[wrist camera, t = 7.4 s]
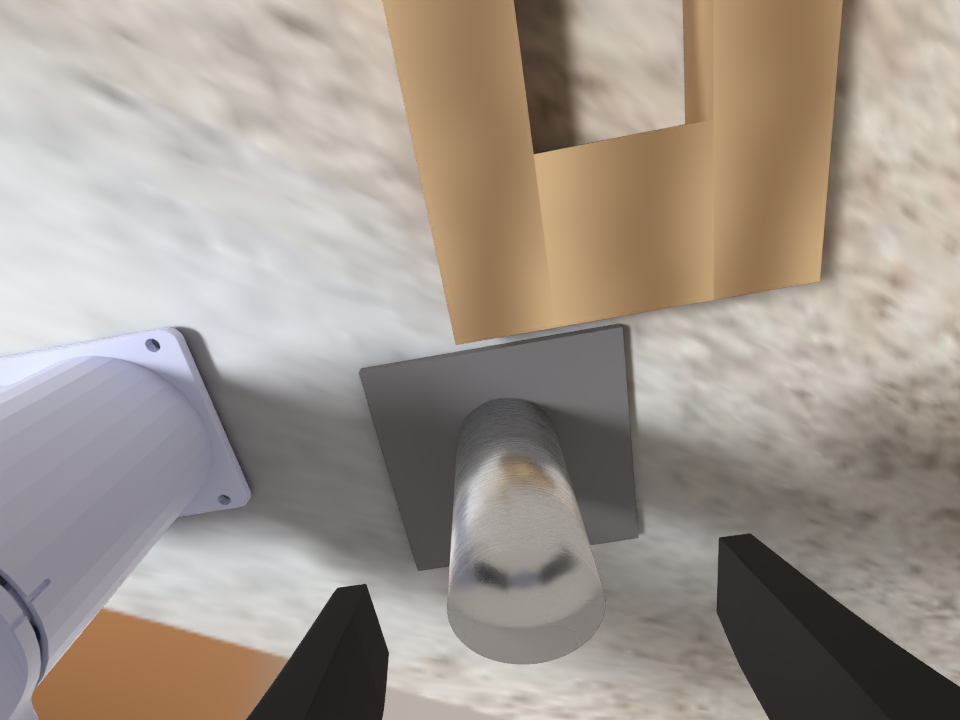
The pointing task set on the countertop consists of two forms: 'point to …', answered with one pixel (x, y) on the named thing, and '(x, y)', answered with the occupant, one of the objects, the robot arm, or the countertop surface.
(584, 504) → the mat
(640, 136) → the holder
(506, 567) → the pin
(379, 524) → the countertop surface
